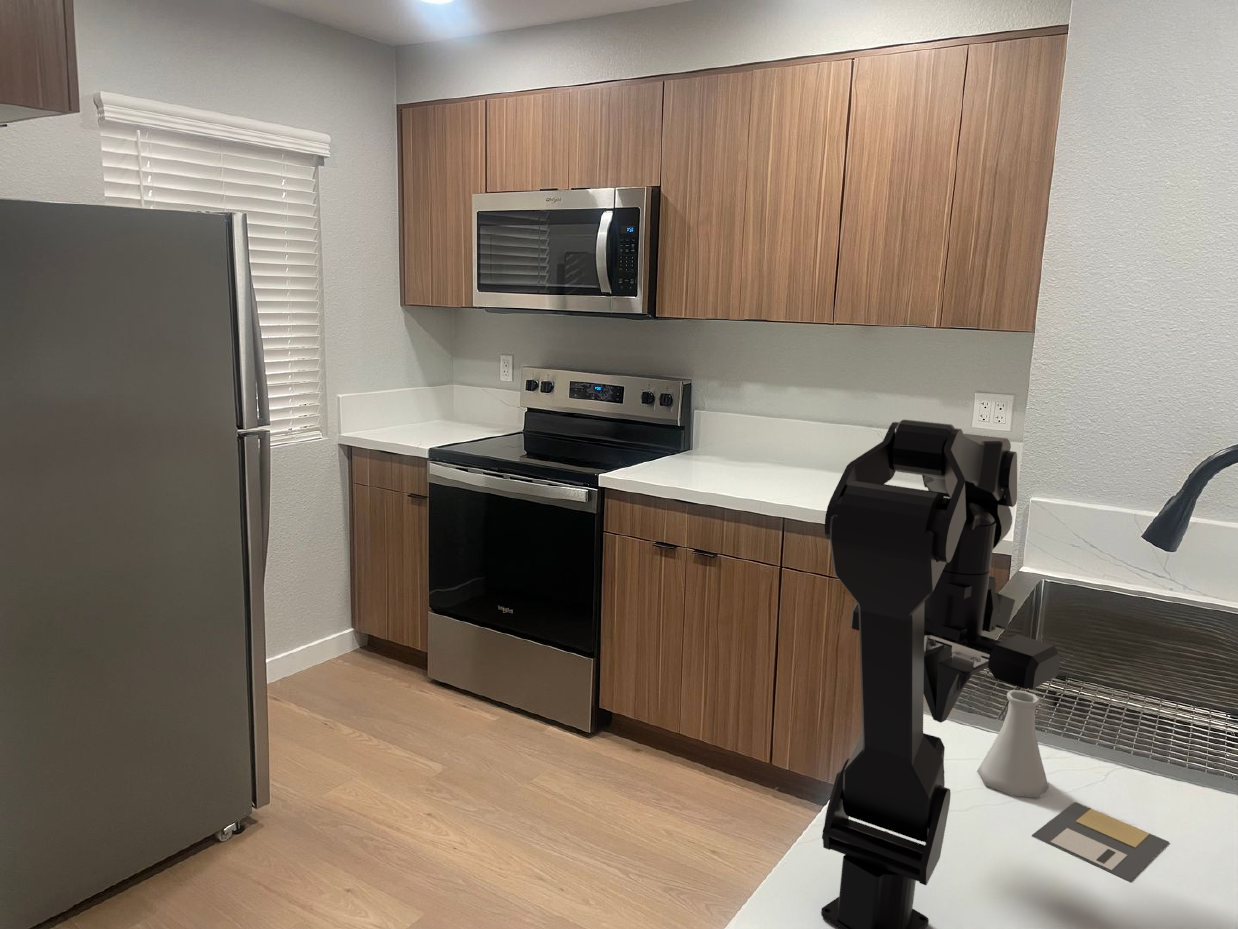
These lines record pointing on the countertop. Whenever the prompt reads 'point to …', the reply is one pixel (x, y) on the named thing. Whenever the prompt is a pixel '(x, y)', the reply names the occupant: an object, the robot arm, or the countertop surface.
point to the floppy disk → (1101, 840)
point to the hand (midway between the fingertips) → (939, 720)
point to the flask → (1016, 751)
